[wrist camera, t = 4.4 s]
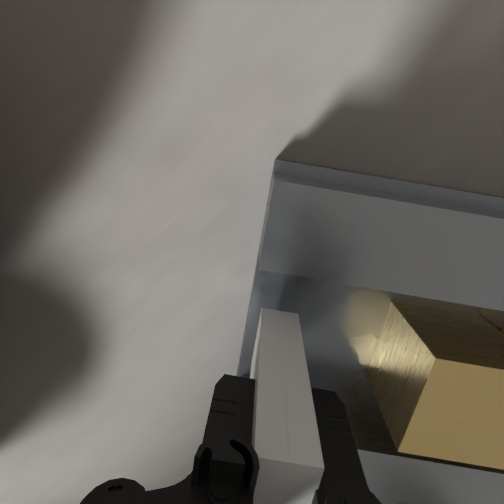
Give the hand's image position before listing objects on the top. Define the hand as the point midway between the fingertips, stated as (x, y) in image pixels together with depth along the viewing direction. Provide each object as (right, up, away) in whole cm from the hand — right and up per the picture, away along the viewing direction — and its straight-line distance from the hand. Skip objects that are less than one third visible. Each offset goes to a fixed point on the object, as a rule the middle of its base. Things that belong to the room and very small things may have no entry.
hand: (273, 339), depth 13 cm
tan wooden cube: (+7, -1, +1) cm, 7 cm away
